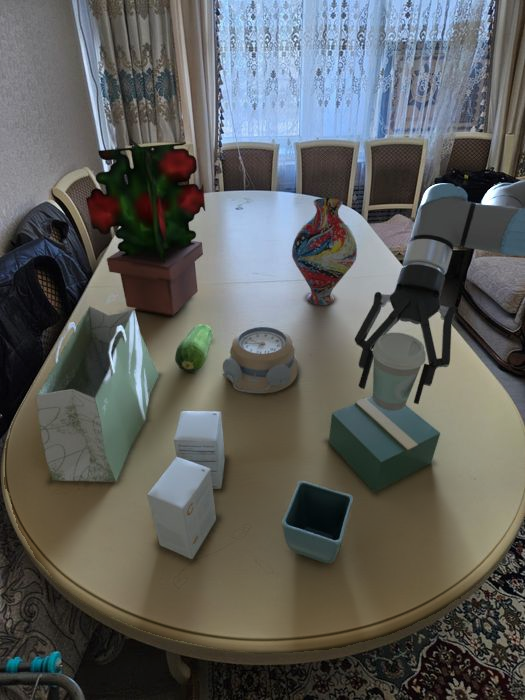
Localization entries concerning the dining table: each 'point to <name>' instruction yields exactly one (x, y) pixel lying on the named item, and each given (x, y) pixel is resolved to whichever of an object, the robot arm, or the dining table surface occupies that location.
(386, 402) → the coffee cup
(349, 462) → the green parcel box
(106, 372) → the green gift bag
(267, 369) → the alarm clock
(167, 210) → the potted plant
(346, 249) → the vase
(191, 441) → the white packaging box
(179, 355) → the vegetable
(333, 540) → the flower pot
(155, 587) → the dining table surface
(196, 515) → the small box
